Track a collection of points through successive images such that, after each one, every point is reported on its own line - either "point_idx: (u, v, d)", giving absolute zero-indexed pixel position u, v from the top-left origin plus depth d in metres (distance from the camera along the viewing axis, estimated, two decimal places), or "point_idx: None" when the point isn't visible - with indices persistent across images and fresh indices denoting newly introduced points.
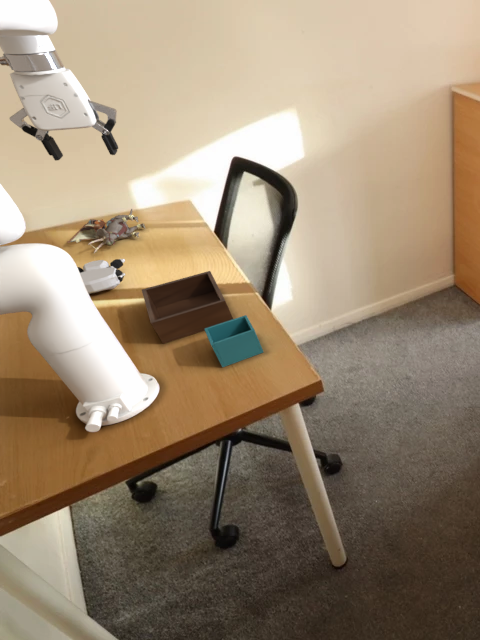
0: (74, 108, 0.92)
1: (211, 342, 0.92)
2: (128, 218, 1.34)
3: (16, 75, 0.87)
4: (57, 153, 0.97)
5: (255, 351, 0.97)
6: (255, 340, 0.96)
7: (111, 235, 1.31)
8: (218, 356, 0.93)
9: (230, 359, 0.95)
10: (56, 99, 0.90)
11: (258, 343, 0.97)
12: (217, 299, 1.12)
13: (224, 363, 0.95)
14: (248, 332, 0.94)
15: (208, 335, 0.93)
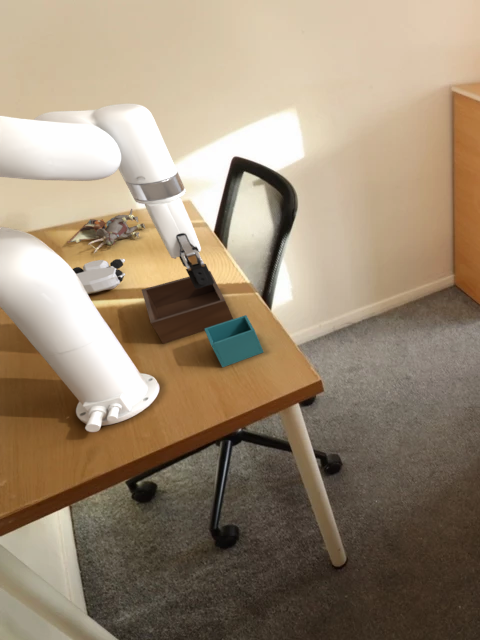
0: (161, 238, 0.80)
1: (211, 342, 0.92)
2: (128, 218, 1.34)
3: None
4: None
5: (255, 351, 0.97)
6: (255, 340, 0.96)
7: (111, 235, 1.31)
8: (218, 356, 0.93)
9: (230, 359, 0.95)
10: None
11: (258, 343, 0.97)
12: (217, 299, 1.12)
13: (224, 363, 0.95)
14: (248, 332, 0.94)
15: (208, 335, 0.93)
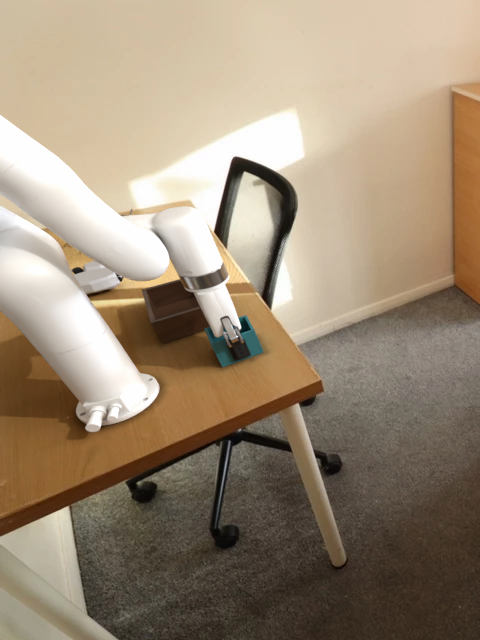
0: (207, 320, 0.88)
1: (211, 342, 0.92)
2: None
3: None
4: None
5: (255, 351, 0.97)
6: (255, 340, 0.96)
7: None
8: (218, 356, 0.93)
9: (230, 359, 0.95)
10: None
11: (258, 343, 0.97)
12: None
13: (224, 363, 0.95)
14: (248, 332, 0.94)
15: (208, 335, 0.93)
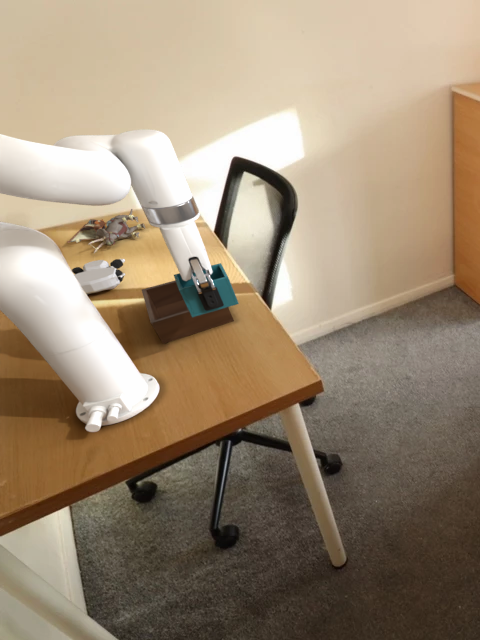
0: (174, 261, 0.81)
1: (179, 287, 0.84)
2: (128, 218, 1.34)
3: None
4: None
5: (229, 302, 0.90)
6: (229, 288, 0.88)
7: (111, 235, 1.31)
8: (187, 304, 0.85)
9: (201, 308, 0.87)
10: None
11: (232, 293, 0.89)
12: None
13: (194, 312, 0.87)
14: (221, 279, 0.87)
15: (177, 281, 0.85)
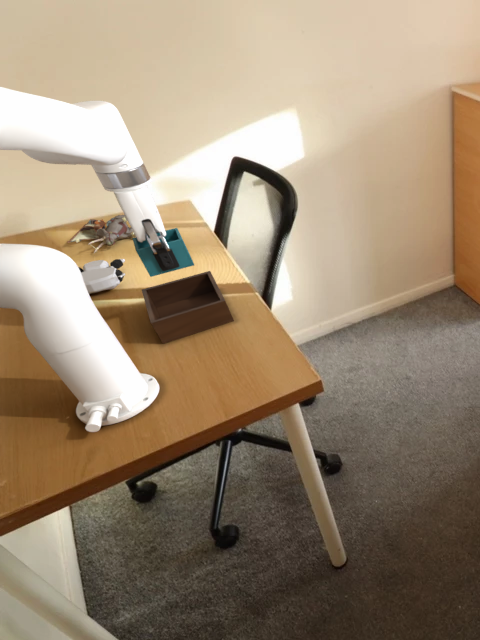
0: None
1: (136, 248, 0.92)
2: None
3: None
4: None
5: (185, 263, 0.97)
6: (184, 250, 0.96)
7: (111, 235, 1.31)
8: (145, 264, 0.93)
9: (158, 269, 0.95)
10: None
11: (187, 254, 0.97)
12: (217, 299, 1.12)
13: (152, 272, 0.95)
14: (176, 241, 0.94)
15: (135, 243, 0.93)
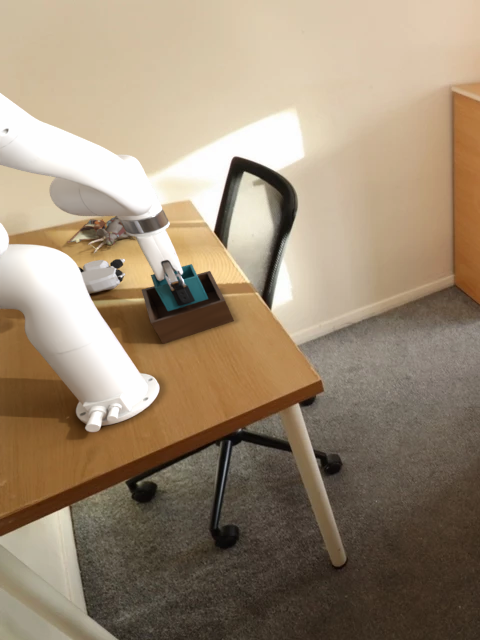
0: (149, 264, 0.95)
1: (155, 286, 0.98)
2: None
3: None
4: None
5: (200, 297, 1.04)
6: (199, 286, 1.03)
7: (111, 235, 1.31)
8: (163, 300, 1.00)
9: (175, 303, 1.02)
10: None
11: (202, 289, 1.04)
12: (217, 299, 1.12)
13: (169, 307, 1.02)
14: (191, 278, 1.01)
15: (153, 280, 1.00)
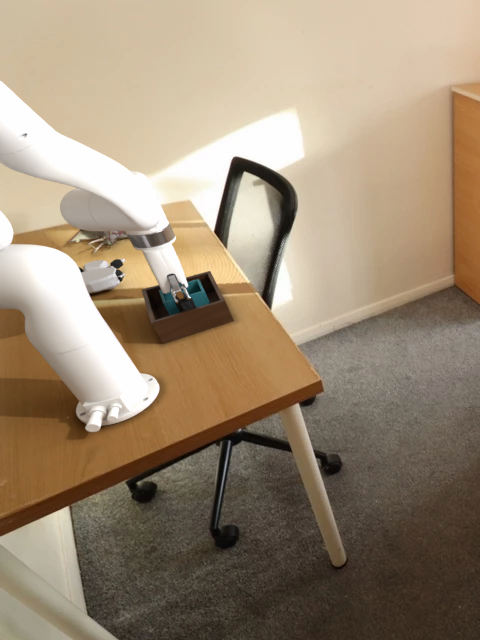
0: None
1: (163, 301, 1.01)
2: None
3: None
4: None
5: None
6: (205, 300, 1.05)
7: (111, 235, 1.31)
8: (170, 314, 1.02)
9: None
10: None
11: None
12: (217, 299, 1.12)
13: None
14: (199, 292, 1.04)
15: (161, 295, 1.02)
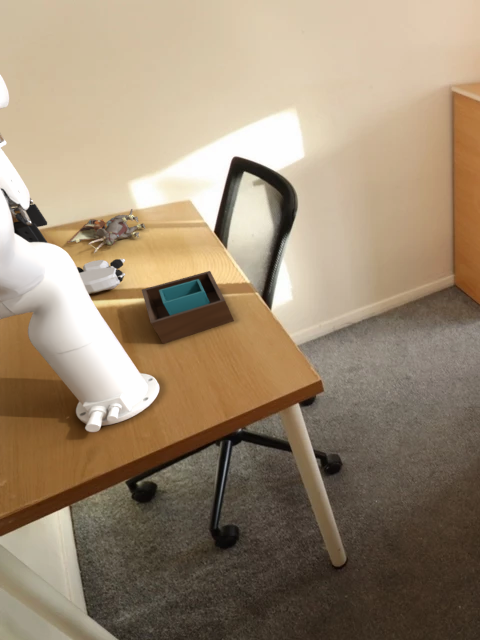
0: None
1: (163, 301, 1.01)
2: (128, 218, 1.34)
3: None
4: None
5: None
6: (205, 300, 1.05)
7: (111, 235, 1.31)
8: (170, 314, 1.02)
9: None
10: None
11: None
12: (217, 299, 1.12)
13: None
14: (199, 292, 1.04)
15: (161, 295, 1.02)
